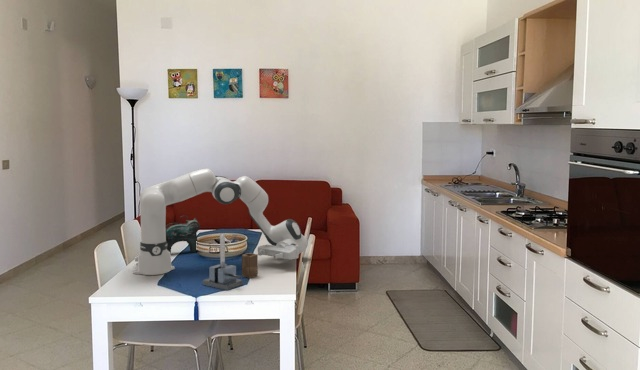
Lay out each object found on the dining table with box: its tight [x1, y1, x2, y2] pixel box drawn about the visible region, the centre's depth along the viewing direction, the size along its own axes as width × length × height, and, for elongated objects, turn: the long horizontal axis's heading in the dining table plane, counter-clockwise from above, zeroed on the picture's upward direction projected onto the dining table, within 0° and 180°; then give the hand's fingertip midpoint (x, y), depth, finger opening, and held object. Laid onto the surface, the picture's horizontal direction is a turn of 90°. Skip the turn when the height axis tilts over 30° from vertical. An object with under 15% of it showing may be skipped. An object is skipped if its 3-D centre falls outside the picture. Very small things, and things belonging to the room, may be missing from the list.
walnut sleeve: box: [241, 252, 259, 279], centre depth 256 cm, size 5×5×10 cm
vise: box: [202, 233, 244, 291], centre depth 241 cm, size 17×10×22 cm, turn 57°
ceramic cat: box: [166, 215, 200, 254], centre depth 297 cm, size 20×6×20 cm, turn 122°
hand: (266, 255), depth 266 cm, fingers open, 8 cm apart
